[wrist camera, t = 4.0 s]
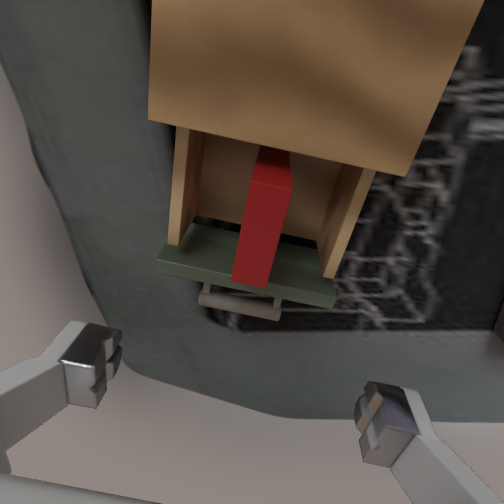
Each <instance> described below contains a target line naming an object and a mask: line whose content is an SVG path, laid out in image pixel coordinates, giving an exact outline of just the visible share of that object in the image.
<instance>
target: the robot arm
mask: <svg viewBox="0 0 504 504" xmlns="http://www.w3.org/2000/svg"><path fill="white" fill-rule="evenodd" d="M121 339H122V331H121V330H119V329H114V328H110V327H106V326H101V325H97V324H93V323H87V322H82V321H78V320H72V321H71V322H69V323H68V324H67V325H66V327H65V328H64V329H63V330H62V331H61V332H60V333H59V335H58V336H57V337H56V338H55V340H54V341H53V342H52V343H51V344H50V345H49V346H48V348H47V349H46V350H45V351H44V352H43V354H42V355H41V356H40V357H39V358H37V357H33V358H31V359H29V360H27V361H24V362H22V363H20V364H18V365H16V366H14V367H12V368H10V369H8V370H5V371H3V372H1V373H0V504H160V503H155V502H149V501H145V500H140V499H135V498H129V497H124V496H119V495H114V494H108V493H103V492H98V491H92V490H88V489H82V488H77V487H72V486H67V485H61V484H56V483H51V482H46V481H41V480H36V479H30V478H25V477H20V476H14V475H10V474H11V466H10V463H9V460H8V457H7V454H6V450H8V449H9V448H11V447H12V446H13V445H15V444H16V443H17V442H19V441H20V440H21V439H23V438H24V437H26V436H27V435H28V434H30V433H31V432H32V431H34V430H35V429H37V428H38V427H39V426H41V425H42V424H43V423H45V422H46V421H48V420H49V419H50V418H52V417H53V416H54V415H56V414H57V413H59V412H60V411H61V410H63V409H64V408H65V407H67V406H68V404H71V405H77V406H83V407H88V408H94V409H96V408H97V406H98V405H99V403H100V401H101V399H102V397H103V396H104V394H105V392H106V390H107V384H106V383H107V381H109V380H110V379H112V378H113V377H114V375H115V374H116V372H117V370H118V367H119V364H120V361H121V356H122V348H121V347H120V345H119V343H120V341H121ZM364 390H365V394H364V395H362V396H360V397H359V398H358V400H357V402H356V405H355V411H354V417H355V424H356V427H357V428H358V430H359V431H360V432H361V434H362V436H361V438H360V439H359V444H360V448H361V453H362V457H363V462H366V463H370V464H375V465H379V466H383V467H387V468H390V471H391V472H392V474H393V475H394V477H395V478H396V480H397V481H398V483H399V484H400V486H401V487H402V489H403V490H404V492H405V493H406V495H407V496H408V498H409V499H410V501H411V502H412V504H504V502H503V501H502V500H501V499H500V498H499V497H498V495H496V493H494V491H493V490H492V489H491V488H490V487H489V486H488V485H487V484H486V483H485V482H484V481H483V480H482V479H481V478H480V477H479V476H478V475H477V474H476V473H475V472H474V471H473V470H472V469H471V468H470V467H469V466H468V465H467V464H466V463H465V462H464V461H463V460H462V459H461V458H460V457H459V456H458V455H457V454H456V452H454V450H453V449H451V447H450V446H449V445H448V444H447V443H445V441H444V440H442V439H438V437H437V434H436V432H435V430H434V427H433V425H432V423H431V420H430V418H429V415H428V413H427V411H426V408H425V406H424V404H423V401H422V399H421V397H420V394H419V393H418V392H417V391H416V390H413V389H408V388H403V387H398V386H394V385H389V384H383V383H378V382H373V381H369V382H368V383H367V384H366V386H365V387H364Z"/></svg>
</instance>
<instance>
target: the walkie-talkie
mask: <svg viewBox="0 0 504 504" xmlns="http://www.w3.org/2000/svg"><path fill="white" fill-rule="evenodd" d="M493 330H494V331H495V332H496V334H497V335H498V336H499V337H500V339H501V340H502V341H503V342H504V302H503V304H502V308H501V311H500V312H499V316H498V319H497V321H496V325H495V328H494V329H493Z"/></svg>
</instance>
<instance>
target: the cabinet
mask: <svg viewBox="0 0 504 504" xmlns="http://www.w3.org/2000/svg"><path fill="white" fill-rule="evenodd" d="M483 2H484V0H152V20H151V48H150V76H149V103H148V120H151V121H156V122H160V123H165V124H169V125H174V126H178V127H183V128H187V129H192V130H196V131H200V132H205V133H209V134H214V135H218V136H223V137H227V138H232V139H236V140H241V141H245V142H250V143H254V144H259V145H263V146H268V147H272V148H277V149H281V150H286V151H290V152H295V153H299V154H304V155H308V156H313V157H317V158H322V159H326V160H330V161H335V162H339V163H344V164H348V165H353V166H357V167H362V168H366V169H371V170H375V171H380V172H384V173H389V174H393V175H398V176H402V177H406V175H407V172H408V170H409V168H410V166H411V163H412V161H413V159H414V157H415V154H416V152H417V150H418V148H419V146H420V143H421V141H422V139H423V137H424V134H425V132H426V130H427V128H428V125H429V123H430V121H431V119H432V116H433V114H434V112H435V110H436V107H437V105H438V103H439V101H440V98H441V96H442V94H443V92H444V90H445V87H446V85H447V83H448V81H449V78H450V76H451V74H452V72H453V69H454V67H455V65H456V63H457V60H458V58H459V56H460V54H461V51H462V49H463V47H464V45H465V42H466V40H467V38H468V36H469V34H470V31H471V29H472V27H473V25H474V22H475V20H476V18H477V16H478V13H479V11H480V9H481V7H482V4H483Z"/></svg>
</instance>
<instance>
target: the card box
mask: <svg viewBox="0 0 504 504" xmlns="http://www.w3.org/2000/svg"><path fill="white" fill-rule="evenodd" d="M291 194H292V179H291V167H290V154H289V151H286V150H281V149H277V148H272V147H268V146H263V145H260V148H259V151H258V155H257V159H256V162H255V166H254V170H253V174H252V177H251V181H250V186H249V191H248V196H247V201H246V206H245V211H244V216H243V220H242V225H241V230H240V235H239V240H238V245H237V250H236V255H235V260H234V265H233V270H232V275H231V280H230V281H232V282H236V283H241V284H246V285H251V286H255V287H260V288H266V286H267V282H268V278H269V275H270V271H271V267H272V264H273V260H274V256H275V253H276V249H277V245H278V242H279V238H280V234H281V231H282V227H283V223H284V220H285V216H286V212H287V209H288V205H289V201H290V198H291Z"/></svg>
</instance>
